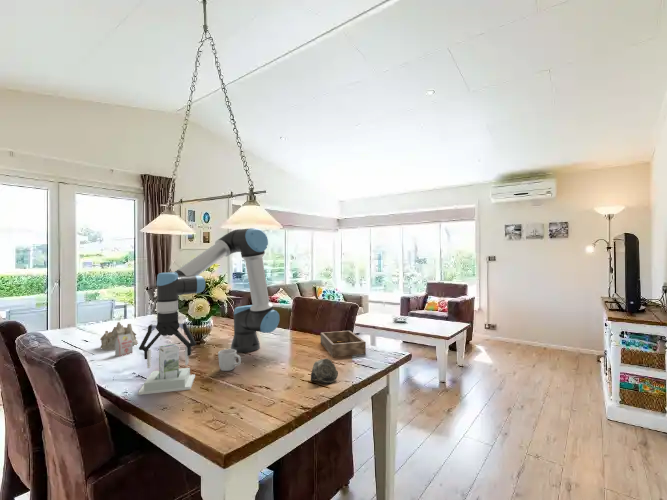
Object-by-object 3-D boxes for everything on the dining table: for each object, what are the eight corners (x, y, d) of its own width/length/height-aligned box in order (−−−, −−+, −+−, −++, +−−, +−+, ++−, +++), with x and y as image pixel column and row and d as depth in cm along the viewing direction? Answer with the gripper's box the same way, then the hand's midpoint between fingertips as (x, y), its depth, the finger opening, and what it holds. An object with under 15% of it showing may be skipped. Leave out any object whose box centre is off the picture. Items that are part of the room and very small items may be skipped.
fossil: (327, 386, 133) (317, 361, 136) (311, 392, 138) (301, 368, 140) (342, 376, 142) (332, 353, 145) (327, 383, 147) (317, 360, 149)
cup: (245, 368, 157) (245, 350, 157) (235, 373, 149) (235, 355, 149) (225, 365, 160) (225, 348, 160) (214, 371, 153) (214, 353, 153)
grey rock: (141, 344, 200) (139, 318, 200) (111, 352, 185) (109, 324, 185) (126, 342, 208) (124, 317, 208) (96, 350, 193) (94, 323, 193)
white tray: (195, 376, 146) (195, 367, 146) (190, 389, 133) (190, 378, 133) (147, 381, 142) (147, 371, 142) (138, 394, 128) (138, 384, 128)
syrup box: (174, 378, 142) (173, 343, 142) (179, 382, 137) (178, 345, 137) (159, 382, 138) (158, 345, 138) (163, 386, 133) (163, 348, 133)
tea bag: (115, 355, 178) (115, 336, 178) (128, 352, 184) (128, 333, 184) (119, 356, 177) (119, 336, 177) (132, 353, 183) (132, 333, 183)
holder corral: (349, 340, 202) (349, 330, 202) (365, 353, 176) (365, 341, 176) (320, 343, 197) (320, 332, 197) (332, 356, 172) (332, 344, 172)
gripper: (202, 308, 144) (202, 359, 144) (135, 311, 138) (135, 365, 138) (200, 311, 137) (200, 365, 137) (129, 315, 131) (130, 371, 130)
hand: (168, 365), depth 137 cm, fingers open, 13 cm apart
